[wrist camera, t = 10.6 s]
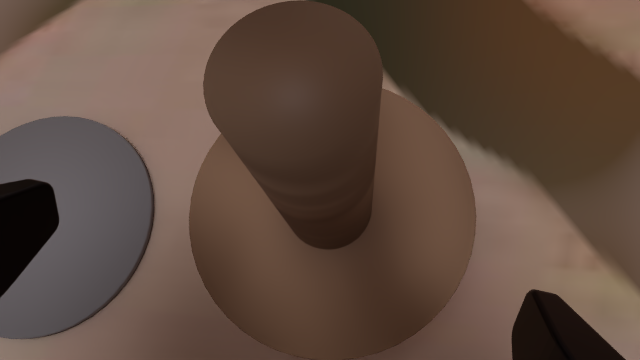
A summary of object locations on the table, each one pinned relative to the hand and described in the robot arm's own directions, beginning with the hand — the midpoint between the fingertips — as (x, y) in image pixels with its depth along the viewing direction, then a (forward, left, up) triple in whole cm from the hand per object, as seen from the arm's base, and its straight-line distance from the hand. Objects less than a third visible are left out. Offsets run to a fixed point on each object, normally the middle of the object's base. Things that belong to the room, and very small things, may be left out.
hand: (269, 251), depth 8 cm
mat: (-1, +14, -12) cm, 19 cm away
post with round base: (+3, 0, -8) cm, 8 cm away
